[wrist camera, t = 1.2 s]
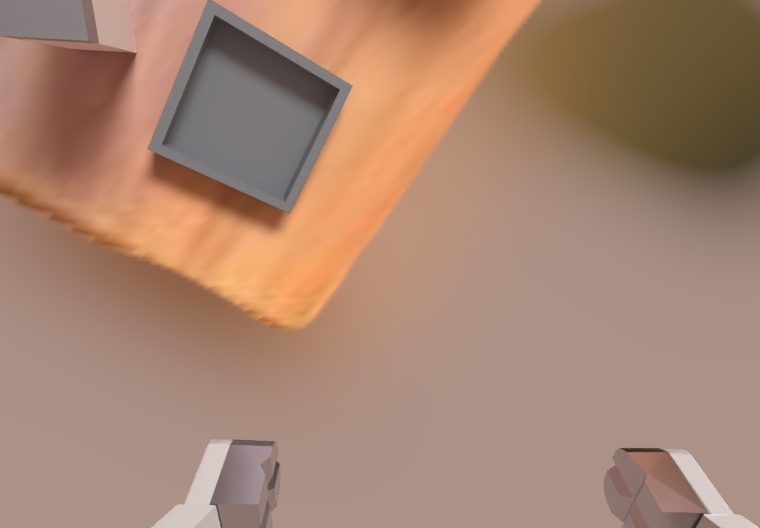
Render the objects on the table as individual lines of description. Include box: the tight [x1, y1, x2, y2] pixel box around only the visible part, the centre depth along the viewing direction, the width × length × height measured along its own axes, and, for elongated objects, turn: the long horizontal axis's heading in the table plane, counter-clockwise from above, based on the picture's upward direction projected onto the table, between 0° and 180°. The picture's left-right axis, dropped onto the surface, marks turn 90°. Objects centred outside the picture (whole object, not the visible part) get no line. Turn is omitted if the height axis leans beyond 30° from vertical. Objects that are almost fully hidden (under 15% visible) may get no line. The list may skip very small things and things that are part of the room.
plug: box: [0, 0, 137, 53], centre depth 30 cm, size 4×4×12 cm
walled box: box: [148, 0, 352, 213], centre depth 39 cm, size 13×13×3 cm
